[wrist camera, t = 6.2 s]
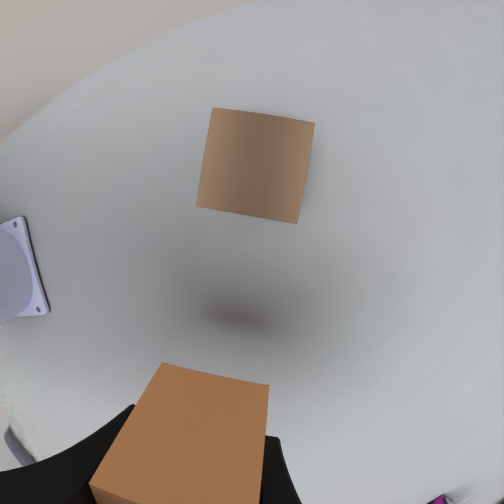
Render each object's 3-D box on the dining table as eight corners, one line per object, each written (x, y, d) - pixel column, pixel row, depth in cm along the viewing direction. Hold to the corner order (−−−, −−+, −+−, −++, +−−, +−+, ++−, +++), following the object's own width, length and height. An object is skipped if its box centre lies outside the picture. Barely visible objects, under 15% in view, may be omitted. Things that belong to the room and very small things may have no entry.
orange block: (161, 431, 12) (113, 537, 6) (162, 362, 11) (88, 483, 5) (250, 451, 12) (233, 569, 6) (269, 385, 11) (256, 529, 5)
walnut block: (223, 197, 18) (196, 206, 12) (234, 129, 17) (212, 107, 11) (291, 209, 18) (297, 224, 12) (303, 141, 17) (314, 123, 11)
